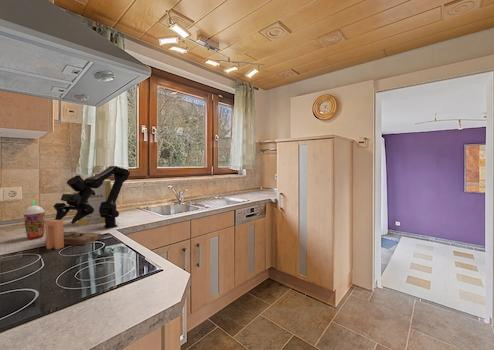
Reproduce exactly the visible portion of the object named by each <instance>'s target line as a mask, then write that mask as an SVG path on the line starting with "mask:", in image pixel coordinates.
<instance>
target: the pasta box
mask: <svg viewBox="0 0 494 350" xmlns="http://www.w3.org/2000/svg"><path fill="white" fill-rule="evenodd" d="M111 184H112V183H111V179H105V180H104V181H103V184H102V185H101V186H100V187H99V188H91V189H92V190H94V191H95V195H91V196H90V197H89V199H88V200H87V201H88V203H85V204H90V205H91V206H92V207H93V208H94V212H93V213H92V214H89V215H87V216H85V217H83V218H81V219H80V220H78V221H77V222H78V223H77V224H78V227H83V226H84V227H85V226H90V225H97V224H105V217H101V215H100V213H99V209H100V208H99V207H100V205H101V203H102V202H105V201H106V200H107V198H108V196H109V193H110V191H111V189H112V187H111ZM78 192H79V191H78ZM78 192H76V193H78Z"/></svg>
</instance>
